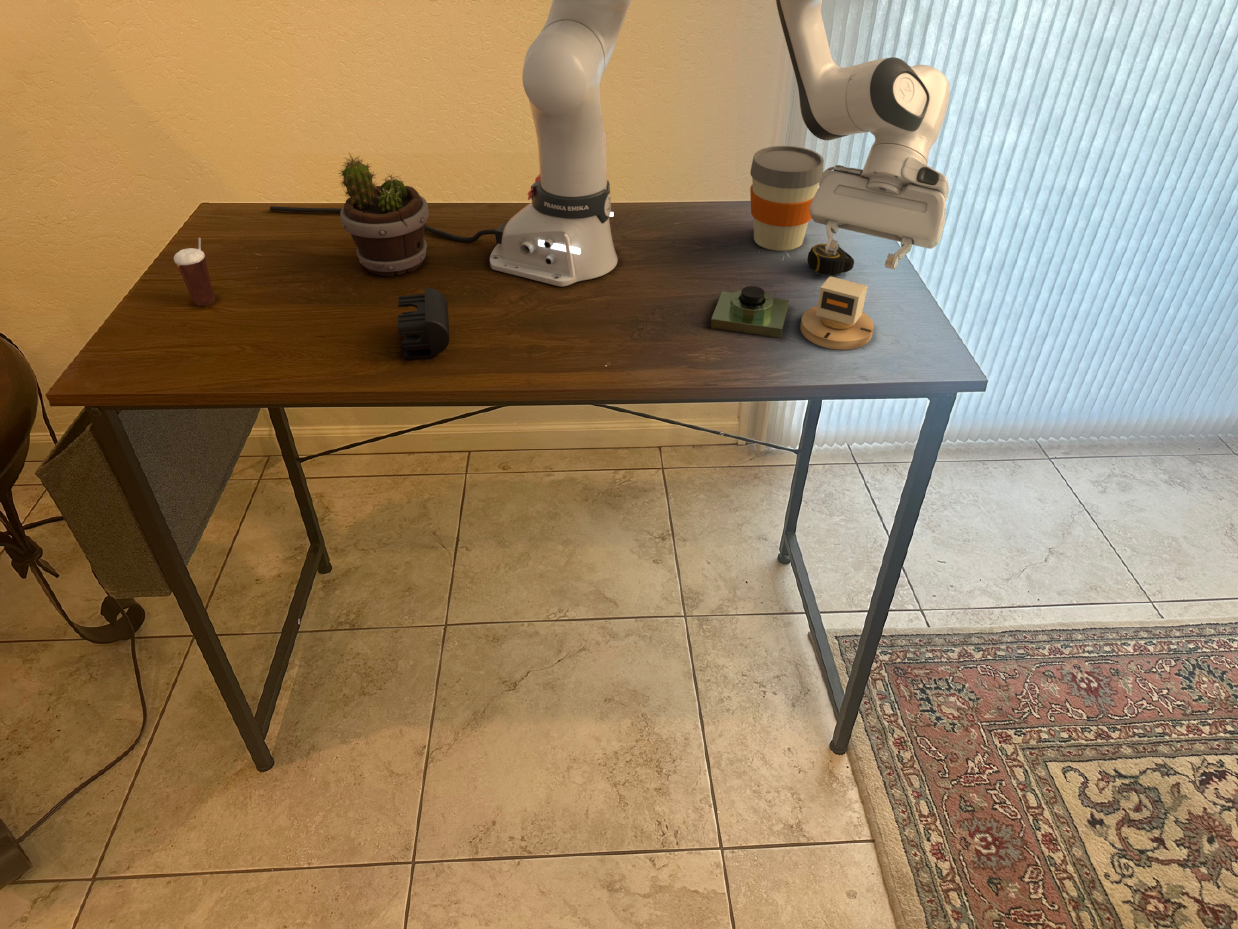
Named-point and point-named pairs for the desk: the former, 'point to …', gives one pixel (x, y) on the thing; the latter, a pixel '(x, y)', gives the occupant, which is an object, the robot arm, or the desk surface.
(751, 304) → the button
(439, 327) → the end cap
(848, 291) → the tan cube with screen
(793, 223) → the reusable coffee cup
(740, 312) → the base
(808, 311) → the stand
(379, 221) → the flowerpot
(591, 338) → the desk surface
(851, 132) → the robot arm
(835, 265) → the tape measure
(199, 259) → the milkshake
